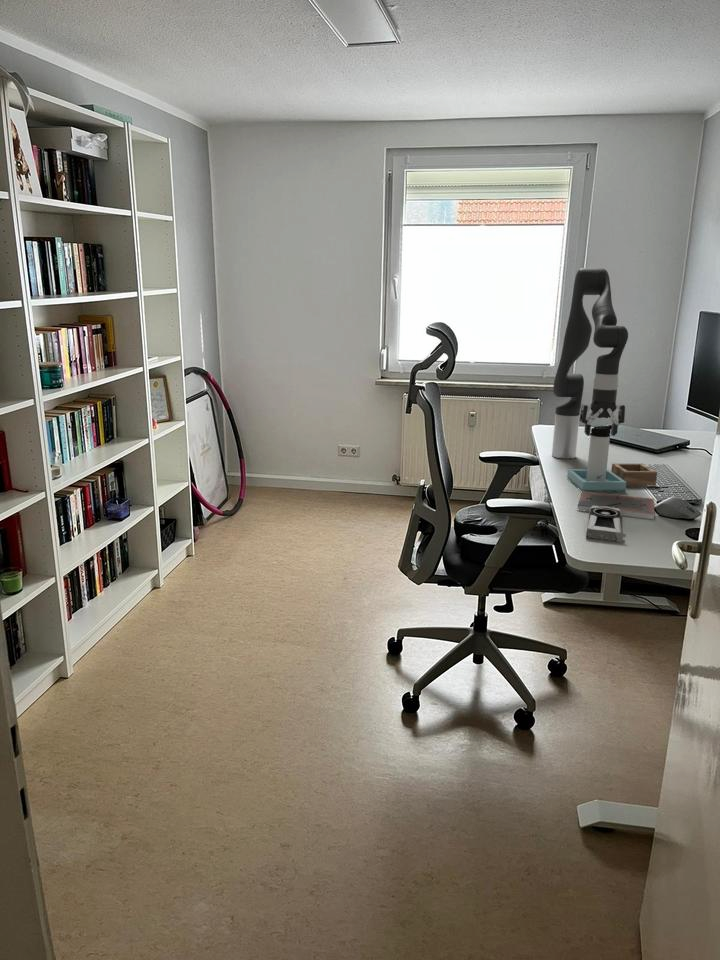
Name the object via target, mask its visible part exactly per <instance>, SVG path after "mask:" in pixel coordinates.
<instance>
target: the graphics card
mask: <svg viewBox="0 0 720 960" xmlns="http://www.w3.org/2000/svg"><path fill="white" fill-rule="evenodd" d="M588 513H589V514H588V518H587V519H588V520H587V529H586V533H585V534H586V535H585V538H586V539H594V540H595V539H596V540H601V541H609V542H616V543H617V542H618V543H626V540H625V539H623V538H626V537H627V534H626V533H623V532H622V516H621V511H620V510H619V508H610V507H606V506H603V507H598V506H592V507H591V508H590V512H588ZM597 520H601V521H600V522H599V523H598V524H597V525H596V523H597ZM611 521H613V523H612V527H609V525H610V523H611ZM587 536H588V537H587Z"/></svg>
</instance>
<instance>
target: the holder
mask: <svg viewBox="0 0 720 960" xmlns="http://www.w3.org/2000/svg"><path fill="white" fill-rule="evenodd" d="M610 471H611V472H612V473H614V474H615V475H617V476H618V477H620V478H621V479H623V480H624V481H625V482H626V487H648V486H647V485H656V484H657V477H658V471H656V470H655V469H653V468H651V467H649V466H647V465H646V464H644V463H619V462H618V463H617V462H616V463H611V470H610Z"/></svg>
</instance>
